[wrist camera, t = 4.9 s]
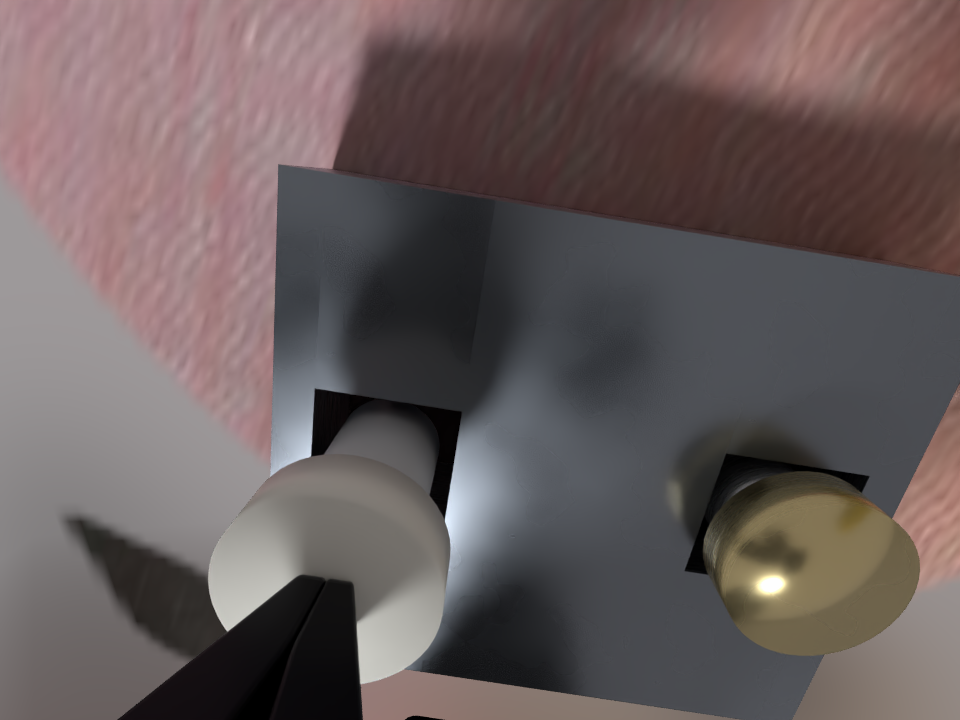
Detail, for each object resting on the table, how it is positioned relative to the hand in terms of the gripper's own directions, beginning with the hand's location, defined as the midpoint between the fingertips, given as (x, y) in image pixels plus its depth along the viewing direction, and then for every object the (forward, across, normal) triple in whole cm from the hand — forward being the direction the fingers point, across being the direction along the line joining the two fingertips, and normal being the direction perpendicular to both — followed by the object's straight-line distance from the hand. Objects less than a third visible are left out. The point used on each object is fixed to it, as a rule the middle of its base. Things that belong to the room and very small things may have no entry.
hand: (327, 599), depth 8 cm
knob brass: (+7, -9, 0) cm, 12 cm away
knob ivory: (+5, 0, 0) cm, 5 cm away
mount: (+7, -4, 0) cm, 8 cm away
